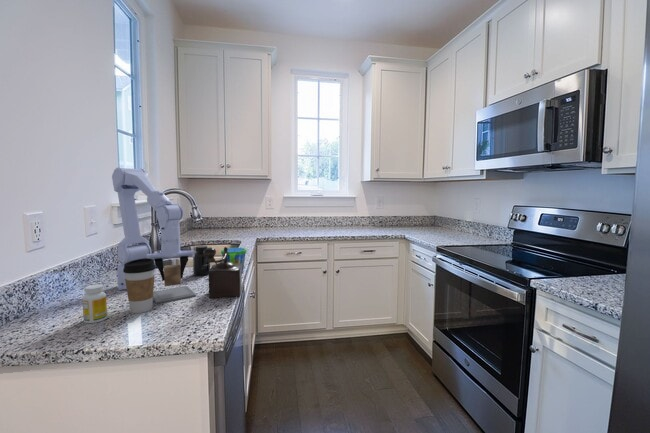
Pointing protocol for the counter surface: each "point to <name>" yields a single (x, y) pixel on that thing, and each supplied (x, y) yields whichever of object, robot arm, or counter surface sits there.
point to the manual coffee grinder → (223, 276)
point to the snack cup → (236, 256)
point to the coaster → (173, 294)
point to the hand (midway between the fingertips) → (172, 278)
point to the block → (172, 275)
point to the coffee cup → (140, 284)
